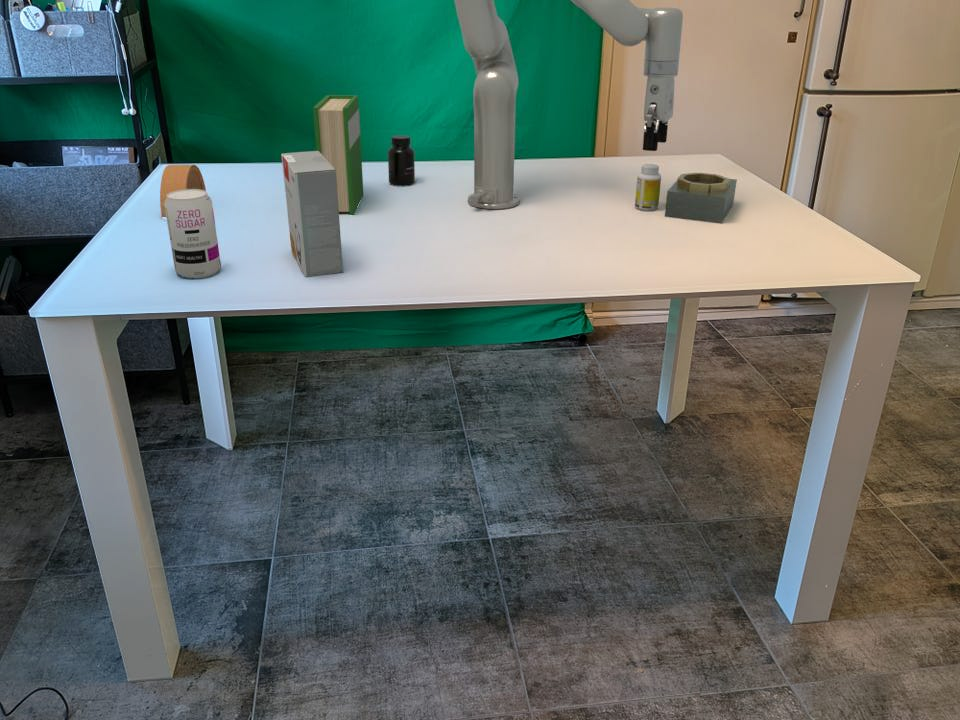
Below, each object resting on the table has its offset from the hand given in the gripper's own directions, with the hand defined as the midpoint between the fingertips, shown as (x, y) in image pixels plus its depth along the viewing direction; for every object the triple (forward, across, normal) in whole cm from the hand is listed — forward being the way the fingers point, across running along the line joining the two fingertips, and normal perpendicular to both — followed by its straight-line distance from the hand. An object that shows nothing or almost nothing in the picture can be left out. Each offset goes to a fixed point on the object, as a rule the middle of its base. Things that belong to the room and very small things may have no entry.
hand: (654, 146), depth 189 cm
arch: (+13, -46, +100) cm, 111 cm away
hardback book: (+13, -28, +68) cm, 75 cm away
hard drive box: (+14, -65, +51) cm, 84 cm away
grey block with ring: (+15, +6, -11) cm, 20 cm away
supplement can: (+13, -79, +68) cm, 105 cm away
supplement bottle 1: (+14, -4, +65) cm, 66 cm away
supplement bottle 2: (+15, 0, +1) cm, 15 cm away
